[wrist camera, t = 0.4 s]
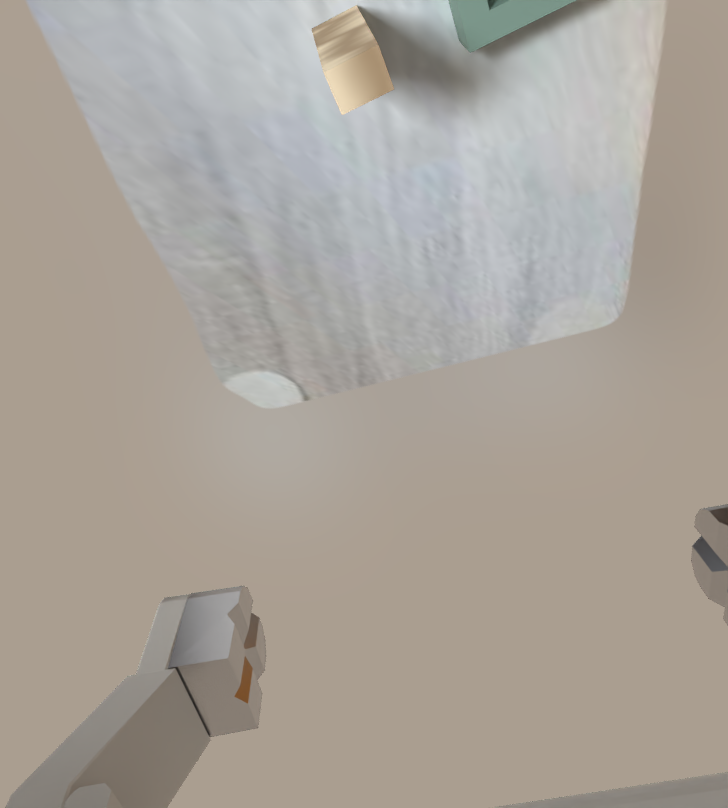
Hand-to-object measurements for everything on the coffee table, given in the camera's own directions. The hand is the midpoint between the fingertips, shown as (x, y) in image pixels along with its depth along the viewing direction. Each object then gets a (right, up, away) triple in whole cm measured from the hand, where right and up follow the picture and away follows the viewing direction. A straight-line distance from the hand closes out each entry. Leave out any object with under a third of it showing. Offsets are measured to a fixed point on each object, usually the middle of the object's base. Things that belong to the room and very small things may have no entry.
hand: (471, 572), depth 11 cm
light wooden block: (-4, +33, +39) cm, 51 cm away
